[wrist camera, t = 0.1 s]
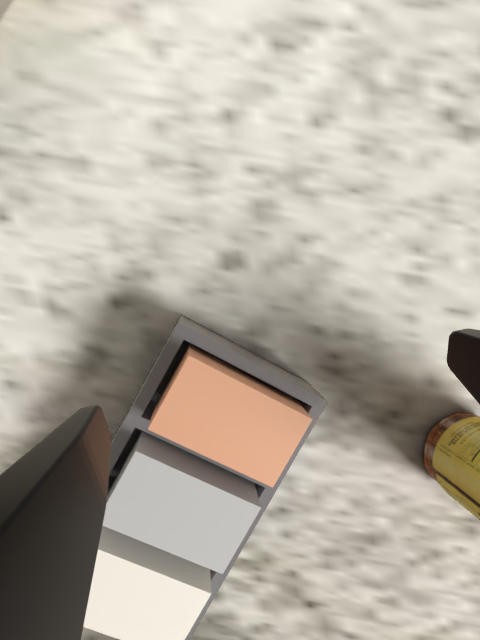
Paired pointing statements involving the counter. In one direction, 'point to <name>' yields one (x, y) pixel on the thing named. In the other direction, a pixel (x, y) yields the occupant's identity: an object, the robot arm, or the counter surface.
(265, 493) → the key panel
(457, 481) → the sauce bottle
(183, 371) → the terracotta key
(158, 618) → the white key
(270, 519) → the counter surface
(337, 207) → the counter surface
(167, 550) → the grey key
